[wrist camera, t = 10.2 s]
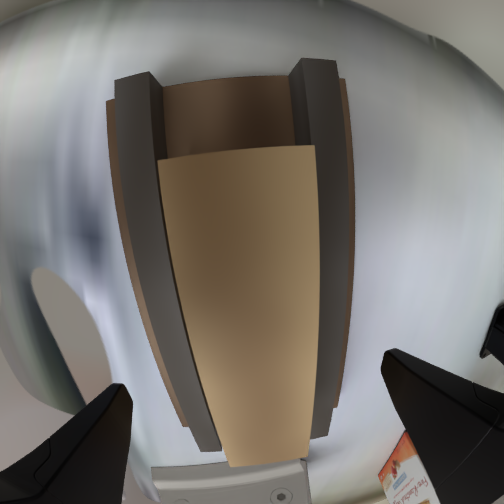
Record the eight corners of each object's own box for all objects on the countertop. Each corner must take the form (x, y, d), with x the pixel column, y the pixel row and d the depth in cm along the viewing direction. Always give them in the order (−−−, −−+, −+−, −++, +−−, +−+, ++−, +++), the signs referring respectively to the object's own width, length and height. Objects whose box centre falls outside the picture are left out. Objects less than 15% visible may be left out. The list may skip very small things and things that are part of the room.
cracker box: (400, 432, 23) (465, 557, 3) (438, 414, 23) (507, 523, 4) (374, 476, 27) (413, 572, 8) (406, 463, 28) (450, 551, 8)
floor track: (337, 83, 12) (367, 64, 9) (333, 398, 19) (347, 430, 16) (113, 104, 12) (83, 90, 8) (183, 417, 18) (180, 451, 15)
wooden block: (275, 153, 12) (314, 145, 7) (287, 383, 17) (307, 456, 11) (189, 162, 12) (157, 160, 6) (226, 391, 16) (230, 467, 11)
